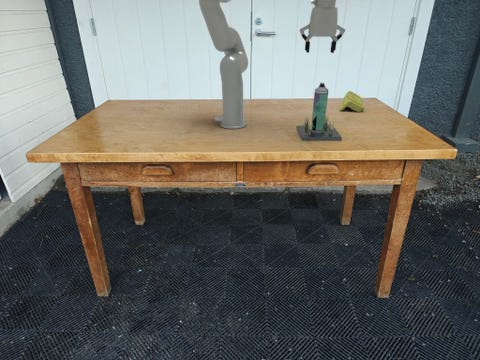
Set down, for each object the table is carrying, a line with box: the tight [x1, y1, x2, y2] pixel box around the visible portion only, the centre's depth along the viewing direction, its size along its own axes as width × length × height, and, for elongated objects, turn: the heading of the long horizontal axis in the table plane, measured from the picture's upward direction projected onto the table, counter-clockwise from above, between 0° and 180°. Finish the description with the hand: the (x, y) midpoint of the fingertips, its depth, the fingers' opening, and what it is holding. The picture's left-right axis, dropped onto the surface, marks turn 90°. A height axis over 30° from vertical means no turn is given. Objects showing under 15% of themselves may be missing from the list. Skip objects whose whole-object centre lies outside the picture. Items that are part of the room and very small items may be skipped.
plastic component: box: [338, 90, 365, 113], centre depth 176 cm, size 20×7×10 cm
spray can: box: [311, 82, 329, 133], centre depth 133 cm, size 6×6×20 cm
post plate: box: [296, 115, 343, 142], centre depth 136 cm, size 16×16×6 cm
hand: (319, 52), depth 126 cm, fingers open, 9 cm apart
